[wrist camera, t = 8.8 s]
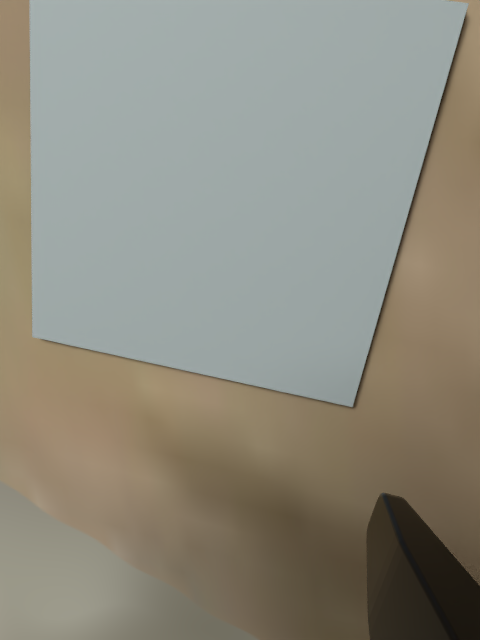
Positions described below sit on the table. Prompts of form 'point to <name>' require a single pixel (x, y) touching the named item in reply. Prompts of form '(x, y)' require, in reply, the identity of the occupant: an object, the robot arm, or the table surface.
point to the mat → (229, 177)
